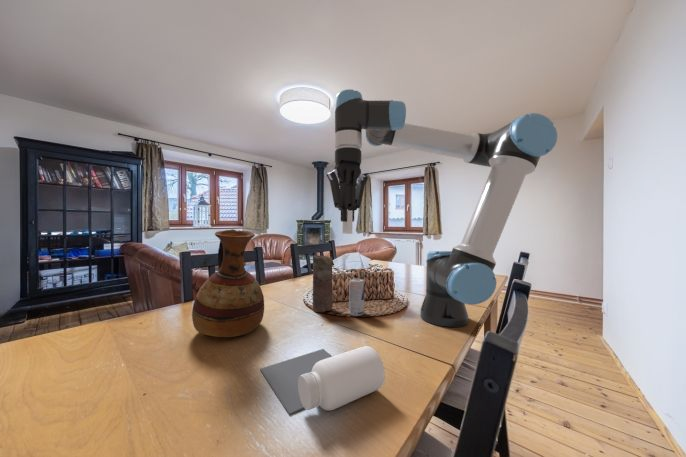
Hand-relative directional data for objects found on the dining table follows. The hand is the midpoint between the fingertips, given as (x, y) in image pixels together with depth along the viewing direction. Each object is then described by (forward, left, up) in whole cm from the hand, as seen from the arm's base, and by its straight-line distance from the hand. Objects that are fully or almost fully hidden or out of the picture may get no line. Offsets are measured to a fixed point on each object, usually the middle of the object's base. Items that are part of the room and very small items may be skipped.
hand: (347, 233), depth 74 cm
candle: (-5, -22, -30) cm, 37 cm away
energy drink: (-13, -12, -30) cm, 35 cm away
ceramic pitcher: (+27, -22, -30) cm, 46 cm away
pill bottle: (+9, +22, -26) cm, 35 cm away
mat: (+18, +12, -29) cm, 36 cm away
